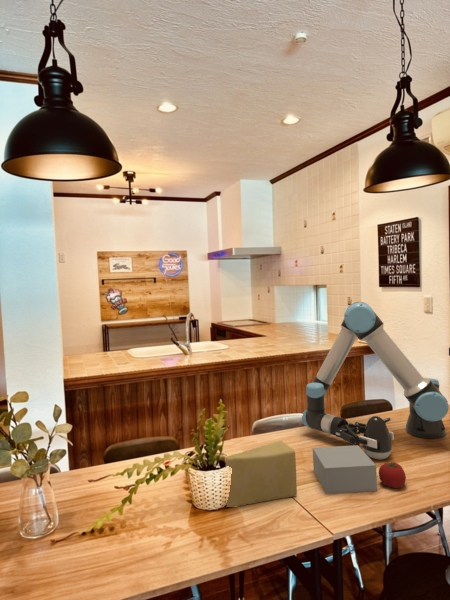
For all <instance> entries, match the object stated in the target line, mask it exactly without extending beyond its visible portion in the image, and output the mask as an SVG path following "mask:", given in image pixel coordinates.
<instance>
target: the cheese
mask: <svg viewBox="0 0 450 600" xmlns="http://www.w3.org/2000/svg"><path fill="white" fill-rule="evenodd" d="M226 466H229V467H231V468H232V474H231V485H230V492H229V497H228V500H227V506H226V508H227V507H234V506H239V507H241V506H240V505H244V506H247V505H246V504H249V505H252V503H254V504H258V503H257V502H259V503H262V502H263V501H264V502H268V501H273V500H279V499H285V498H286V499H287V498H292V497H296V496H297V495H298V491H297V488H298V487H297V462H296V451H295V449H294V448H292V447H291V446H290V445H288V444H286V443H285V442H283V441H281V440H277V441H275V442H272V443H271V442H270V443H267V444H265V445H260V446H258V447H255V448H252V449H249V450H244V451H242V452H238V453H234V454H231V455H228V456H227V457H226V459H225V467H226ZM234 508H235V507H234Z"/></svg>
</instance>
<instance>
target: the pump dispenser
mask: <svg viewBox="0 0 450 600" xmlns="http://www.w3.org/2000/svg"><path fill="white" fill-rule="evenodd" d="M388 422H391V418H390V417H387V418H384V419H383V418H382V417H381V416H378V415H373V416H371V417H369V418H368V420H367V422H366V423H365V424H366V427H365V430H364V433H363V435H362V436H363V437H367V438H370V439H374V440H377V448H373V447H369V446H366V445H363V444H362V448H363V449H364V450H363V451H364V452H365V454H366V455H367V456H368V457H369V458H370V459H374V460H378V461H379V460H385V459H387V458H388V457H389V456H390V455H391V453H392V451H393V444H392V440H391V438H390V434H389V431H390V430H389V429H388V427H387V424H386V423H388Z"/></svg>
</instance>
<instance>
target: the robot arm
mask: <svg viewBox="0 0 450 600" xmlns="http://www.w3.org/2000/svg"><path fill="white" fill-rule="evenodd" d="M343 315H344V316H343V320H342V322H341V325H340V328H341V329H340V331H339V333H338V335H336V336H337V337H336V339H335V340H334V342H333V344H332V346H331V348H330V350H328V351H329V352H328V353H327V355H326V357H325V358H324V360H323V363H322V364H321V367H320V368H319V370H318V372H317V374H316V376H315V377H314V380H313V381H312V382H310V383H307V384H306V388H305V389H306V390H305V394H306V408H307V409H305V410H304V411H303V412H302V416H301V421H302V423H303V425H304V426H305V427H307V428H310V429H312V430H315V431H320V432H323V433H326V434H328V435H331V436H332V435H333V436H335V437H336V438H339V439H342V440H343V441H346V442H347V443H349V444H351V445H358V446H359V447H360V445H362V446H363V445H366V446H369V447H373V448H377V440H374V439H370V438H367V437H363V435H360V434H364V430H365V427H366V424H367V423H361V422H358V421H355V422H354V423H349V422H348V420H347V419H346V418H343V417H339V416H337V415H334V414H329V413H326V408H325V407H326V406H325V405H326V403H325V399H326V396H327V393H328V390H329V389H330V387H331V385H332V384H333V381H334V379H335V378H336V376H337V375H338V372H339V370H340V369H341V367H342V365H343V364H344V362H345V360H346V358H347V356H349V353H350V351H351V349H352V348H353V345H354V344H355V341H357V339H358V340H359V341H360V342H361V341H362V342H365V343H366V344H367V345H368V346H369V348H370V349H371V350H372V351H373V352H374V354H375V355H376V356H377V358H378V359H379V360H380V361H381V362H382V364H383V365H384V366H385V368H386V369H387V370H388V371H389V373H390V374H391V375H392V376H393V377H394V379H395V380H396V381H397V382H398V383H399V385H400V387H402V389H403V390H404V391H403V396H404V397H405V399H406V400H407V401H408V402H409V403H408V404H409V406H408V407H409V414H408V417H407V420H406V423H405V432H406V433H407V434H409V435H411V436H413V437H418V438H421V439H440V438H443V437H446V435H447V434H446V433H447V431H446V426H445V424H444V421H443V419H444V418H445V417H446V415H447V414H448V411H449V406H450V405H449V403H448V402H449V401H448V400H447V398H446V397H445V395H444V394H443V393H442V392H441V391H440V382H439V379H436V378H430V377H423V376H422V374H421V373H420V372H419V371H418V370H417V368H416V367H415V366H414V365H413V363H412V362H411V361H410V360H409V358H408V357H407V356H406V355H405V354H404V352H403V351H402V350H401V349H400V348H399V346H398V345H397V344H396V343H395V342H394V341H393V339H392V338H391V337H390V335H389V334H388V333H387V332H386V330H385V329H384V326H385V325H384V324H385V323H384V322H383V320H382V319H381V318H380V317H379V316H378V314H377V313H376V312H375V311H374V309H373V308H372V307H371V306H370V305H369V304H367V303H366V302H362V301H356V302H353V303H351V304H350V305H349V306H348V307H347V308H346V309H345V311H344V314H343ZM388 431H389V434H390V438H391V441H394V440H395V437H394V435H395V433H394V432H392V431H390V430H388Z"/></svg>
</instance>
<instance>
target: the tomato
mask: <svg viewBox="0 0 450 600" xmlns="http://www.w3.org/2000/svg"><path fill="white" fill-rule="evenodd" d="M378 476H379V480H380V482H381V483H382V484H383V485H384V486H386V487H390V488H392V489H400V488H402V487H403V486H404V485H405V483H406V479H407V477H406V473H405V471H404V468H403V467H402V466H401V465H400V464H399V463H397V462H395V461H391V462H385V463H383V464H381V466H380V467H379V469H378Z"/></svg>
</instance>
